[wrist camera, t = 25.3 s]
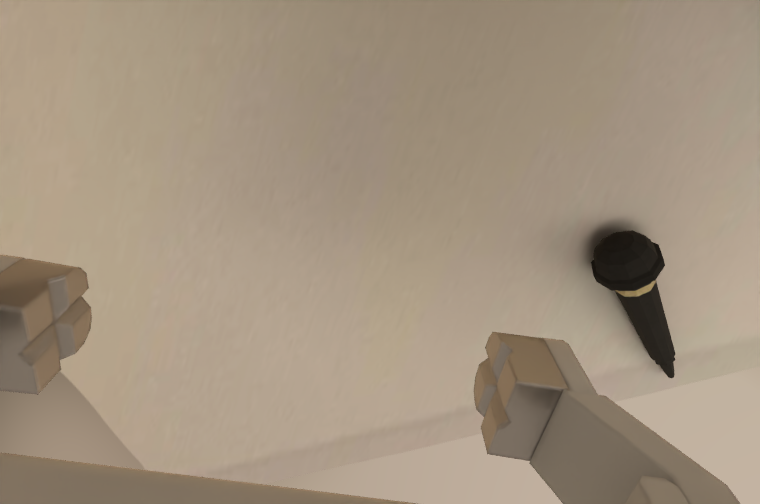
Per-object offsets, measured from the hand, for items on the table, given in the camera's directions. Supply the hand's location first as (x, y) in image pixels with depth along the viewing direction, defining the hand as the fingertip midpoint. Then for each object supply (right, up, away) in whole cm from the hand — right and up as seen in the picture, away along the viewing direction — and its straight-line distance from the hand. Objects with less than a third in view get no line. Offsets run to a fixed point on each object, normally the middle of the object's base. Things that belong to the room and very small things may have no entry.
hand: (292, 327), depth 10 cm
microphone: (+26, -4, +37) cm, 45 cm away
